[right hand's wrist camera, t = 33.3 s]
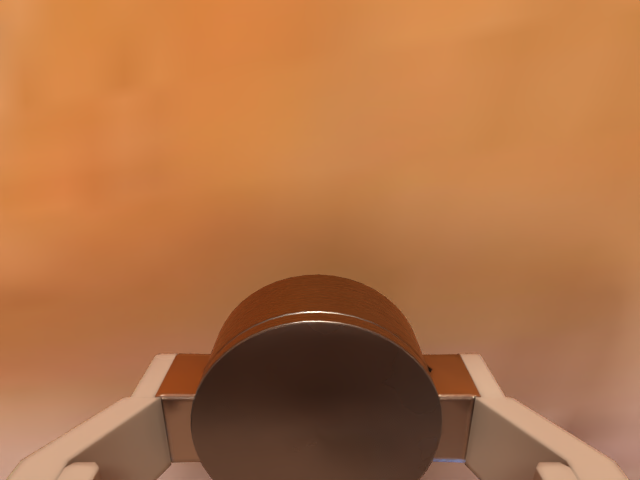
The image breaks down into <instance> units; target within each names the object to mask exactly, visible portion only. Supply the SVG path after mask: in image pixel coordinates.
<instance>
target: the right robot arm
mask: <svg viewBox="0 0 640 480" xmlns="http://www.w3.org/2000/svg"><path fill="white" fill-rule="evenodd" d="M210 355H211V354H180V353H179V354H177V353H159V354H157V355H155V357H154V358H153V360H152V361H151V363H150V365H149V366H148V368H147V370H146V371H145V373H144V375H143V376H142V378H141V380H140V381H139V383H138V385H137V386H136V388H135V390H134V391H133V393H132V395H131V396H130V397H124V398H122V399H120V400H119V401H117V402H115V403H114V404H112V405H110V406H109V407H107V408H106V409H104V410H102V411H101V412H99V413H97V414H96V415H94V416H93V417H91V418H89V419H88V420H86V421H84V422H83V423H81V424H79V425H78V426H76V427H75V428H73V429H71V430H70V431H68V432H66V433H65V434H63V435H62V436H60V437H58V438H57V439H55V440H53V441H52V442H50V443H48V444H47V445H45V446H44V447H42V448H40V449H39V450H37V451H35V452H34V453H32V454H30V455H29V456H27V457H26V458H24V459H22V460H21V461H20V462H19V463H18V465H17V466H16V467H15V469H14V470H13V471H12V472H11V474H10V475H9V476H8V477H7V479H6V480H157V478H158V477H159V476H160V475H161V474H162V473H163V472H164V471H165V470H166V469H167V468H168V467H169V466H170V465H171V462H201V461H200V459H199V457H198V456H197V453H196V450H195V447H194V444H193V440H192V434H191V409H192V403H193V399H194V396H195V393H196V390H197V387H198V385H199V382H200V380H201V378H202V375H203V372H204V370H205V367H206V365H207V362H208V360H209V357H210ZM423 357H424V360H425V362H426V365H427V367H428V370H429V372H430V375H431V377H432V380H433V382H434V385H435V387H436V390H437V392H438V395H439V399H440V403H441V408H442V419H443V421H442V434H441V438H440V442H439V446H438V449H437V451H436V454H435V456H434V459H433V461H432V462H465V465H466V466H467V467H468V468H469V469H470V470H471V471H472V472H473V473H474V474H475V475H476V476H477V477H478V478H479V479H480V480H629V479H628V478H627V476H626V475H625V474H624V472H623V471H622V470H621V468H620V467H619V466H618V465H617V463H616V462H615V461H614V460H612V459H611V458H609V457H607V456H606V455H604V454H603V453H601V452H599V451H598V450H596V449H595V448H593V447H591V446H590V445H588V444H586V443H585V442H583V441H582V440H580V439H578V438H577V437H575V436H574V435H572V434H570V433H569V432H567V431H566V430H564V429H562V428H561V427H559V426H557V425H556V424H554V423H553V422H551V421H549V420H548V419H546V418H545V417H543V416H541V415H540V414H538V413H537V412H535V411H533V410H532V409H530V408H528V407H527V406H525V405H524V404H522V403H520V402H519V401H517V400H516V399H514V398H512V397H505V395H504V393H503V392H502V390H501V388H500V386H499V385H498V383H497V381H496V380H495V378H494V376H493V375H492V373H491V371H490V370H489V368H488V366H487V365H486V363H485V361H484V360H483V358H482V356H481V355H480V354H478V353H467V354H444V355H423Z"/></svg>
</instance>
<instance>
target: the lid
mask: <svg viewBox="0 0 640 480" xmlns="http://www.w3.org/2000/svg"><path fill="white" fill-rule="evenodd" d="M442 421H443V419H442V408H441V403H440V399H439V395H438V392H437V390H436V387H435V385H434V382H433V380H432V377H431V375H430V372H429V370H428V367H427V365H426V362H425V360H424V357H423V355H422V352H421V350H420V347H419V345H418V342H417V340H416V337H415V335H414V333H413V330H412V328H411V326H410V324H409V323H408V321H407V320H406V318H405V316H404V315H403V314H402V313H401V311H400V310H399V309H398V308H397V307H396V306H395V305H394V304H393V303H392V302H391V301H390V300H388V299H387V298H386V297H385V296H383V295H382V294H380V293H379V292H377V291H376V290H374V289H372V288H370V287H368V286H366V285H364V284H362V283H359V282H356V281H353V280H350V279H347V278H342V277H337V276H330V275H303V276H297V277H291V278H287V279H284V280H280V281H277V282H275V283H272V284H270V285H267V286H265V287H263V288H261V289H260V290H258V291H256V292H255V293H253V294H251V295H250V296H249V297H248V298H246V299H245V300H244V301H242V302H241V303H240V304H239V305H238V306H237V307H236V308H235V309H234V311H233V312H232V313H231V314H230V316H229V317H228V318H227V320H226V321H225V323H224V325H223V327H222V329H221V331H220V333H219V335H218V338H217V340H216V343H215V345H214V347H213V350H212V352H211V355H210V357H209V360H208V362H207V365H206V367H205V370H204V372H203V375H202V378H201V380H200V382H199V385H198V387H197V390H196V393H195V396H194V399H193V403H192V409H191V434H192V440H193V444H194V447H195V450H196V453H197V456H198V457H199V459H200V461H201V463H202V465H203V467H204V468H205V470H206V471H207V473H208V474H209V475H210V477H211V478H212V479H213V480H420V478H421V477H422V476H423V475H424V473H425V472H426V471H427V469H428V467H429V466H430V464H431V462H432V461H433V459H434V456H435V454H436V451H437V449H438V446H439V442H440V438H441V434H442Z"/></svg>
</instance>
